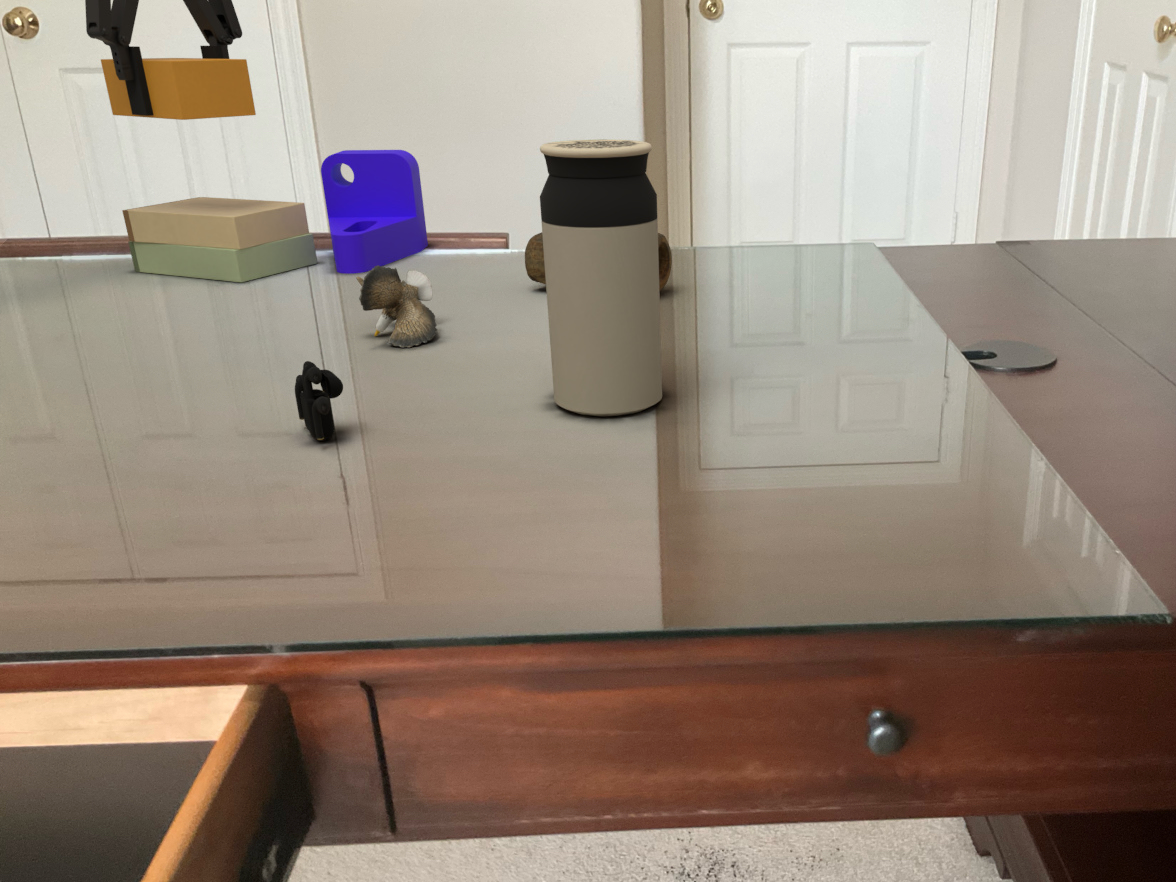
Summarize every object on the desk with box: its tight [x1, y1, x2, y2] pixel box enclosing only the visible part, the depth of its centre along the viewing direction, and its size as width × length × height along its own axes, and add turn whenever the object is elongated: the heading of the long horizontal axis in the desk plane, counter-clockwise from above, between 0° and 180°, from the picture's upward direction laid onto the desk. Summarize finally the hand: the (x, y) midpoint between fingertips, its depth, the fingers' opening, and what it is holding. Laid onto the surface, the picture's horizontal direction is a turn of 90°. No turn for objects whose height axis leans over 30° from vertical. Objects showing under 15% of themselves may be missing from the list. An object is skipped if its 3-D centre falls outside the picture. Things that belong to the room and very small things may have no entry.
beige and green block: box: [122, 196, 318, 283], centre depth 125 cm, size 16×12×7 cm
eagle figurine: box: [355, 266, 438, 349], centre depth 97 cm, size 8×7×9 cm
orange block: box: [100, 57, 257, 121], centre depth 115 cm, size 13×8×6 cm, turn 56°
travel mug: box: [539, 138, 663, 417], centre depth 76 cm, size 8×8×18 cm
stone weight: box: [524, 231, 673, 292], centre depth 113 cm, size 15×7×7 cm, turn 76°
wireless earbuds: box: [294, 360, 344, 442], centre depth 72 cm, size 7×2×5 cm, turn 32°
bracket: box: [320, 149, 429, 275], centre depth 129 cm, size 18×11×12 cm, turn 3°
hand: (183, 112), depth 116 cm, fingers closed on orange block, 8 cm apart
